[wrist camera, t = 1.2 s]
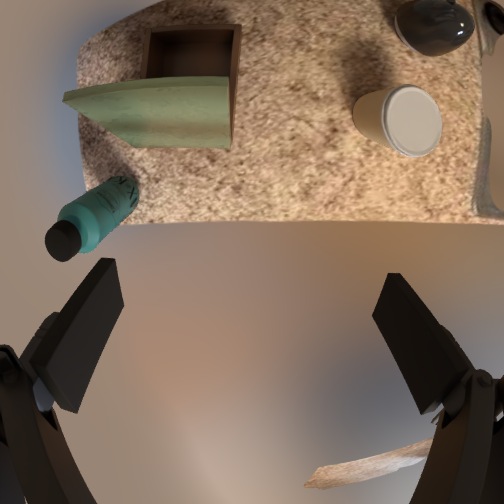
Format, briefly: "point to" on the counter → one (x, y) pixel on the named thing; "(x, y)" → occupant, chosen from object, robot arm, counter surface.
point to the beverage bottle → (91, 218)
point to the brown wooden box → (194, 54)
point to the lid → (160, 111)
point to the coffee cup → (400, 119)
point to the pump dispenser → (433, 26)
